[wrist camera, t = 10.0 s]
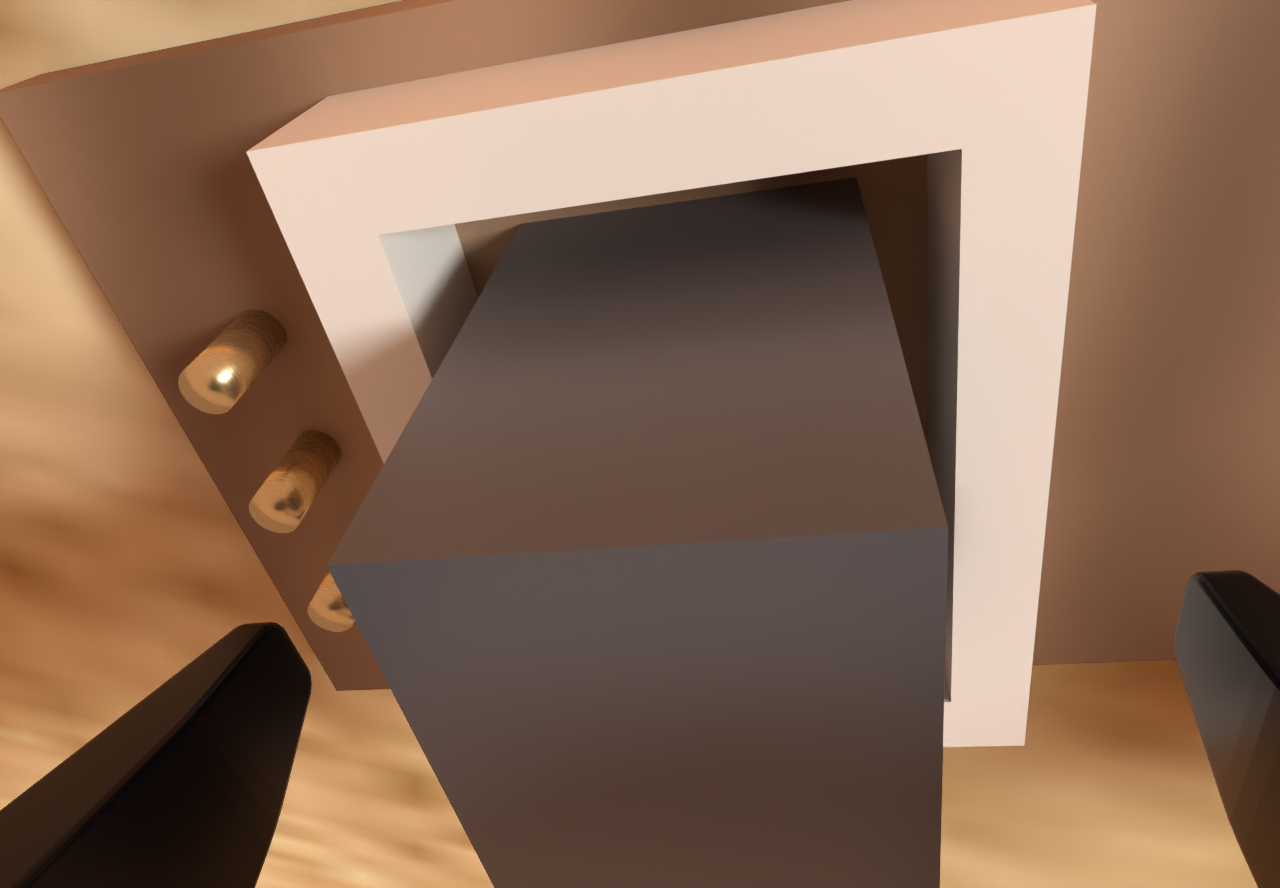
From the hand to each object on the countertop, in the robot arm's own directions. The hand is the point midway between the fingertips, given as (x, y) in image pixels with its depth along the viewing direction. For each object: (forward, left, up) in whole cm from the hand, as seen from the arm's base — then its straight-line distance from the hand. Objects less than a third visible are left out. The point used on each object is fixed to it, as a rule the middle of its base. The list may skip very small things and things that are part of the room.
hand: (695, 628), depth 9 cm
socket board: (0, 0, -5) cm, 5 cm away
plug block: (0, 0, -4) cm, 4 cm away
